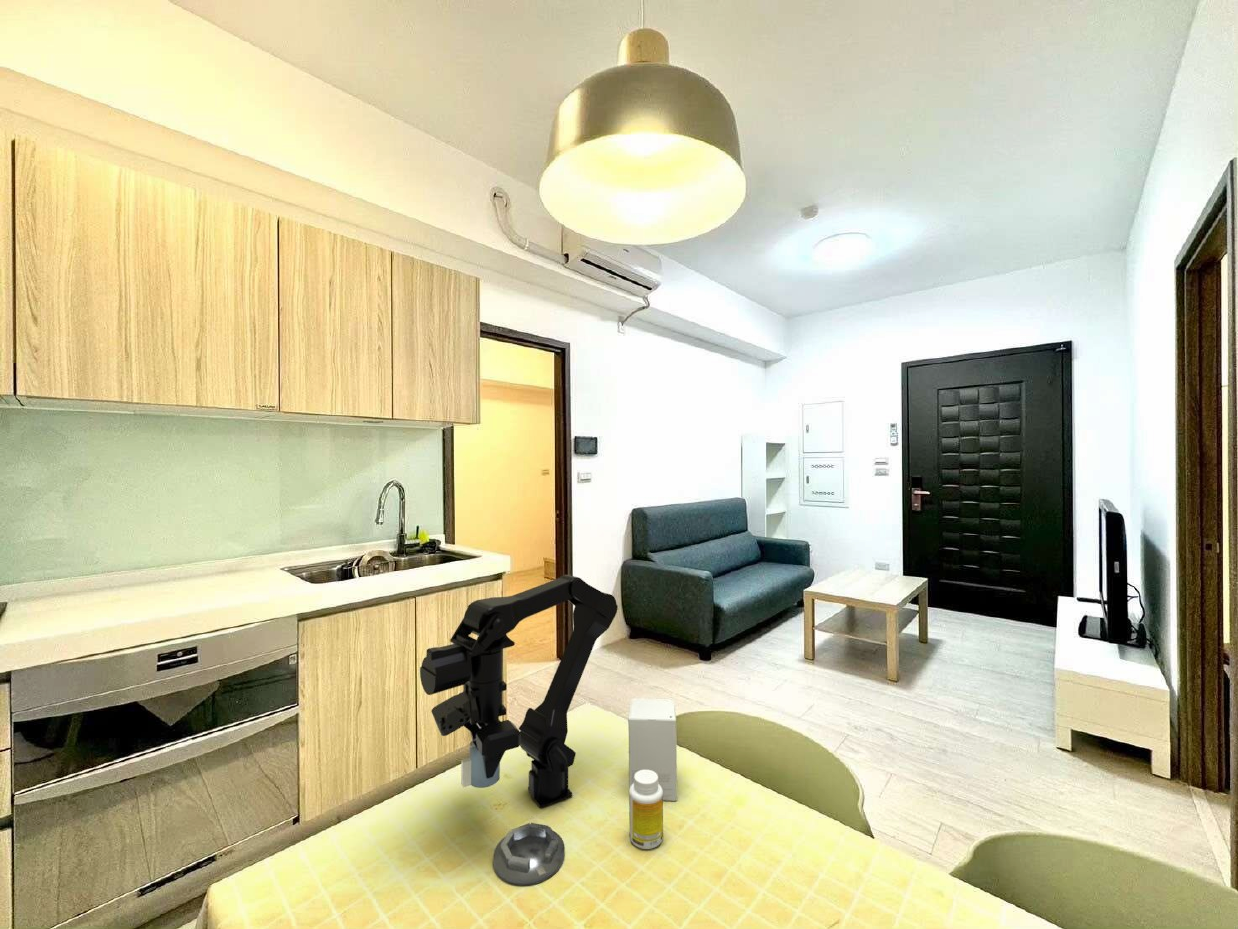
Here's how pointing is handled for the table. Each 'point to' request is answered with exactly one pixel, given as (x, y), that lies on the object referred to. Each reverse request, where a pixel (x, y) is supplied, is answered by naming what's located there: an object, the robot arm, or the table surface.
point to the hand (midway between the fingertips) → (484, 769)
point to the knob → (476, 770)
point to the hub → (528, 855)
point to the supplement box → (654, 742)
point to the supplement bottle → (646, 810)
